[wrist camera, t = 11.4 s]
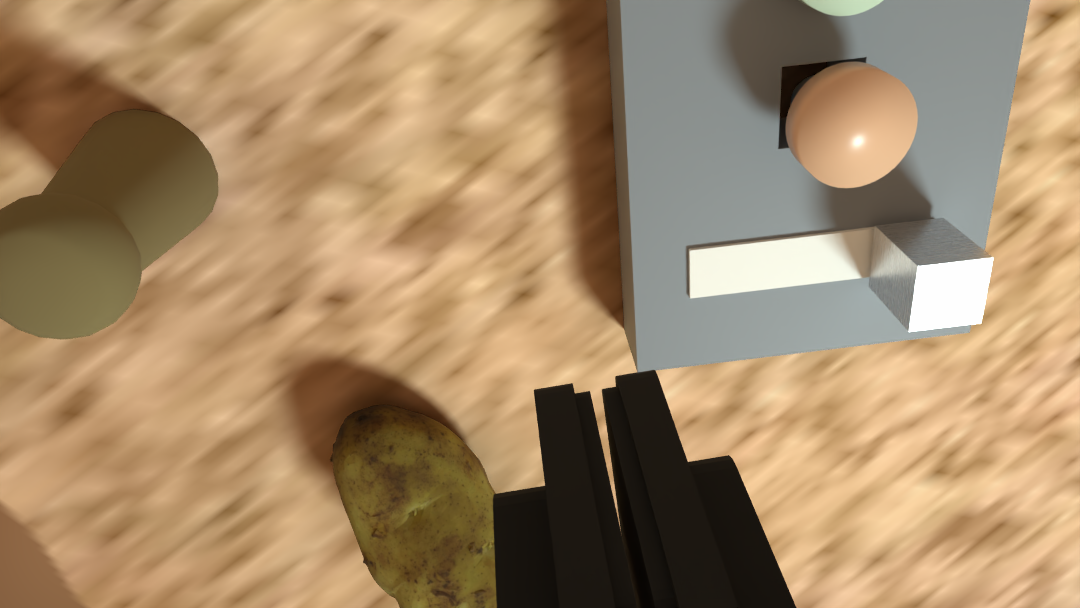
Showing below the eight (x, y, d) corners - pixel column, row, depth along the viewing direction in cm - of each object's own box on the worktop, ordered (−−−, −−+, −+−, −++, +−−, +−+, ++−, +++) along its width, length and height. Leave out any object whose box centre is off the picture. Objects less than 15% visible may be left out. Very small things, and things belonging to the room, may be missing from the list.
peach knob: (763, 51, 33) (802, 78, 29) (872, 38, 33) (924, 64, 30) (760, 155, 36) (796, 194, 32) (861, 144, 36) (909, 181, 32)
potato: (482, 365, 44) (484, 465, 37) (529, 541, 50) (538, 655, 43) (327, 396, 44) (300, 501, 37) (393, 567, 50) (381, 685, 43)
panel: (597, -155, 32) (613, -154, 29) (1003, -199, 33) (1070, -205, 29) (624, 329, 43) (638, 374, 39) (929, 293, 43) (971, 334, 40)
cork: (153, 260, 39) (50, 395, 30) (47, 162, 37) (-104, 275, 27) (247, 188, 38) (171, 304, 28) (144, 81, 35) (21, 169, 26)
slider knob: (874, 225, 36) (917, 266, 33) (943, 217, 36) (993, 257, 33) (868, 286, 38) (908, 331, 34) (933, 278, 38) (980, 323, 34)
